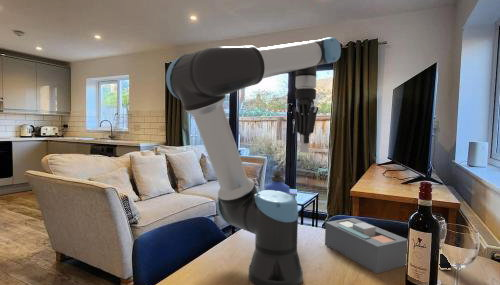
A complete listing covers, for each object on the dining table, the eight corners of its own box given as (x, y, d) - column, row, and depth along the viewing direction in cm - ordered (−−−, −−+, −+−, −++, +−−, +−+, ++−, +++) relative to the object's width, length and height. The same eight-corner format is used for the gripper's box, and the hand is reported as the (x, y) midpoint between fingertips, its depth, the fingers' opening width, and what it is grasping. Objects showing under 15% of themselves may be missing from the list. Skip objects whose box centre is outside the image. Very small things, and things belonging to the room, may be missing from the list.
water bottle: (292, 234, 117) (293, 170, 115) (281, 241, 109) (283, 173, 107) (271, 229, 121) (272, 168, 120) (259, 236, 114) (260, 171, 112)
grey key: (375, 236, 98) (375, 226, 98) (363, 238, 96) (364, 229, 96) (363, 231, 102) (363, 222, 102) (352, 233, 100) (352, 224, 100)
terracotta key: (394, 251, 91) (395, 240, 91) (382, 253, 89) (383, 243, 89) (381, 244, 96) (381, 235, 96) (369, 247, 94) (370, 237, 94)
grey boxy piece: (407, 265, 92) (408, 238, 91) (376, 273, 86) (377, 245, 86) (352, 238, 113) (353, 216, 112) (324, 244, 107) (325, 221, 107)
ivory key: (357, 234, 105) (358, 225, 105) (346, 236, 103) (347, 227, 103) (347, 229, 109) (347, 221, 109) (336, 231, 107) (337, 222, 107)
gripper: (325, 87, 107) (323, 153, 108) (303, 90, 118) (302, 150, 120) (307, 86, 103) (306, 154, 105) (287, 89, 115) (286, 150, 117)
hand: (304, 151), depth 112 cm, fingers closed
